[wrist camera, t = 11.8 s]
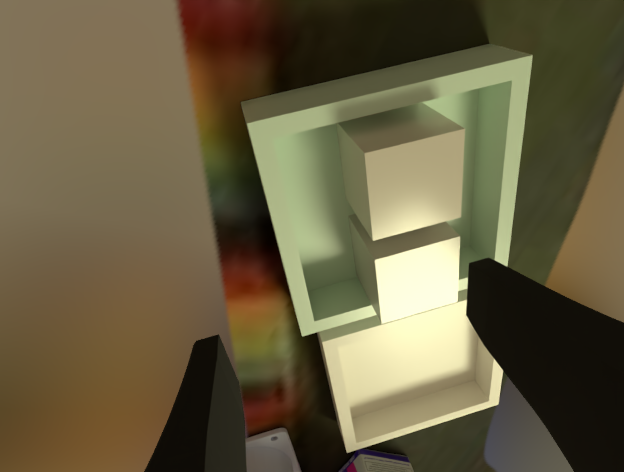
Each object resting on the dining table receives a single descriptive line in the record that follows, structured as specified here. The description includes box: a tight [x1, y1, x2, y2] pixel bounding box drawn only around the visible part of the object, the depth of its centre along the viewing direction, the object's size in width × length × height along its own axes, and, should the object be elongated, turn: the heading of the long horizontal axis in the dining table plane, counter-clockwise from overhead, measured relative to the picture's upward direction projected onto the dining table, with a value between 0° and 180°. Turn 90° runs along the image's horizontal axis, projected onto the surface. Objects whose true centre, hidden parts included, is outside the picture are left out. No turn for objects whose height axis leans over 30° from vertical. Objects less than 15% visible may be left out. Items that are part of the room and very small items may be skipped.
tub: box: [240, 44, 533, 337], centre depth 21 cm, size 12×12×3 cm
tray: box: [317, 289, 503, 453], centre depth 28 cm, size 12×12×2 cm
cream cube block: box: [348, 214, 460, 324], centre depth 22 cm, size 4×4×4 cm
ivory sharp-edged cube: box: [336, 102, 465, 241], centre depth 19 cm, size 4×4×4 cm
